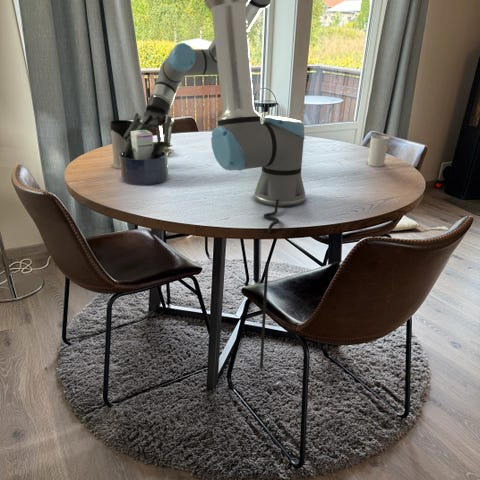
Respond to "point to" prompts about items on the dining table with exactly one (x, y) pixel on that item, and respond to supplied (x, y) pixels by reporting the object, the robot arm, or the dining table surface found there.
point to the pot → (144, 170)
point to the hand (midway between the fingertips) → (138, 162)
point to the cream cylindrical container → (378, 150)
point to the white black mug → (118, 139)
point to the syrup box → (142, 144)
